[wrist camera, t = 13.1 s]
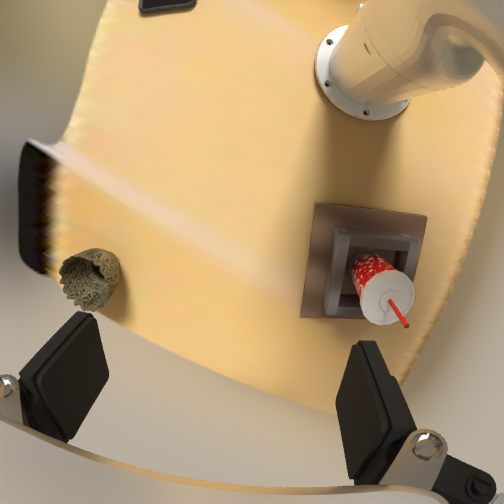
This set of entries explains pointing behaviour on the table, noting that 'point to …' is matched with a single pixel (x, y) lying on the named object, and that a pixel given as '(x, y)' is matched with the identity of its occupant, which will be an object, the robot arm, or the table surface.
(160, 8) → the phone
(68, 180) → the table surface
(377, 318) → the beverage cup
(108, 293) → the cup
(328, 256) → the socket board
